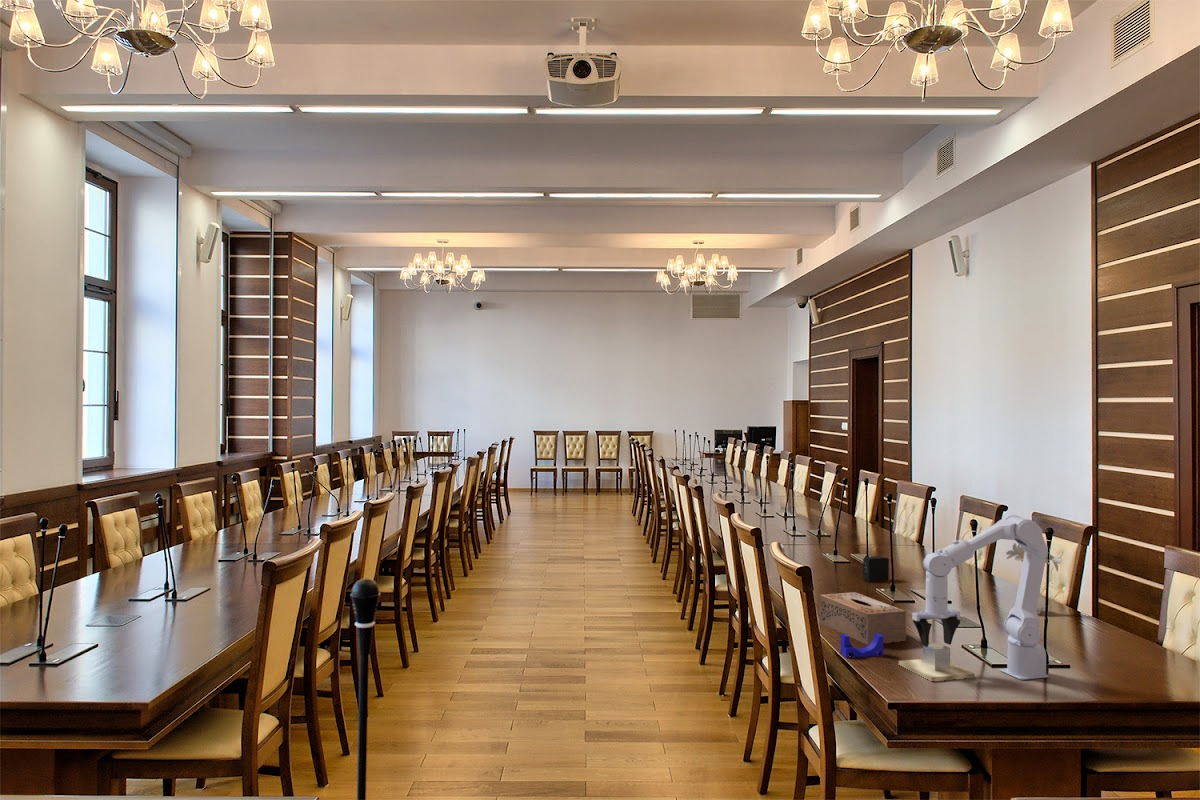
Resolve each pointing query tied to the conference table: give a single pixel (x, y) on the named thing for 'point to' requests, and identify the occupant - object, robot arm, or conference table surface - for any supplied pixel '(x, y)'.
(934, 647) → the brushed grey cube
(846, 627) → the tissue box cover
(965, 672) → the board
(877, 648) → the cable clip
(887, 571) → the electronic device
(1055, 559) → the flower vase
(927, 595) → the robot arm
